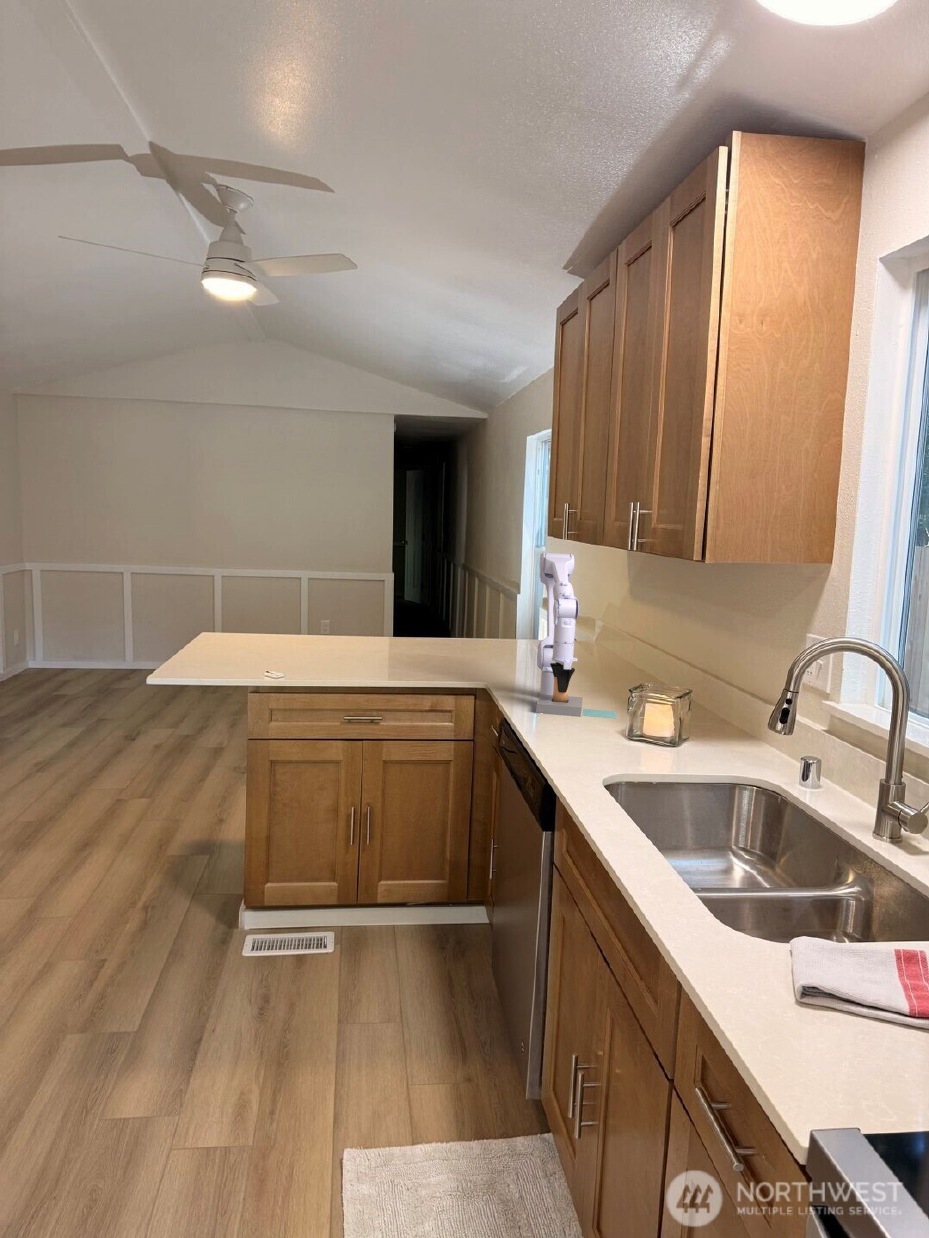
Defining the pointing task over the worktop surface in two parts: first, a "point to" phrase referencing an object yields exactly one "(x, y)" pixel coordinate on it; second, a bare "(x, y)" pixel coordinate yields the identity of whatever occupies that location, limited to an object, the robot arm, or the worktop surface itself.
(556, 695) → the plug
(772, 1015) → the worktop surface
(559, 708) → the block
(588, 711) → the mat
